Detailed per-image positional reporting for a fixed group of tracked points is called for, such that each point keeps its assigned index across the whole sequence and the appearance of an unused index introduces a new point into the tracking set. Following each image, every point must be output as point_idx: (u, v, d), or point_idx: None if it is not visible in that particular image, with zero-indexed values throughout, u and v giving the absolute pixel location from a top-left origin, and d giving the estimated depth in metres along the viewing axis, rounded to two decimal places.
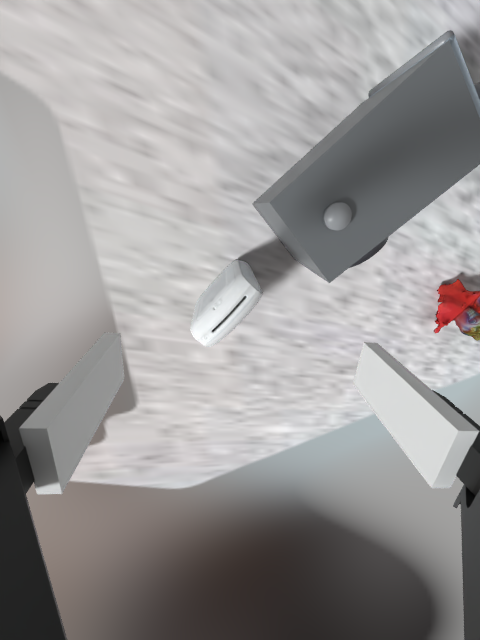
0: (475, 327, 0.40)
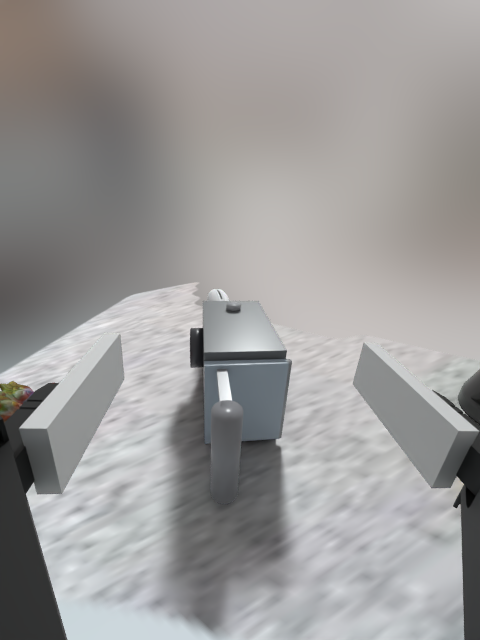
0: (22, 389, 0.36)
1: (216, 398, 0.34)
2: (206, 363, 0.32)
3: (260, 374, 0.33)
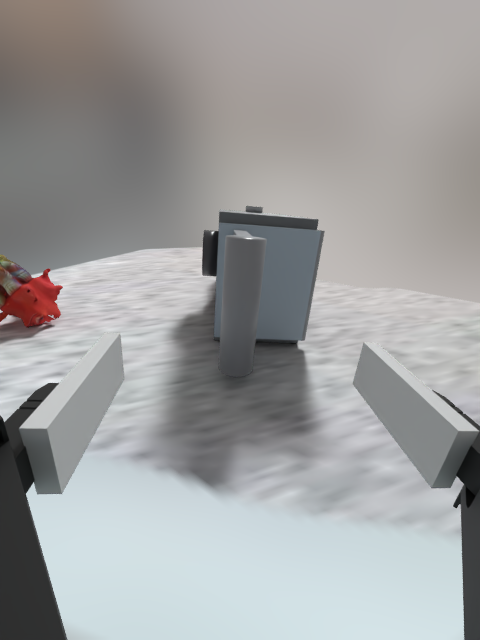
0: (11, 263, 0.32)
1: None
2: None
3: (285, 243, 0.28)
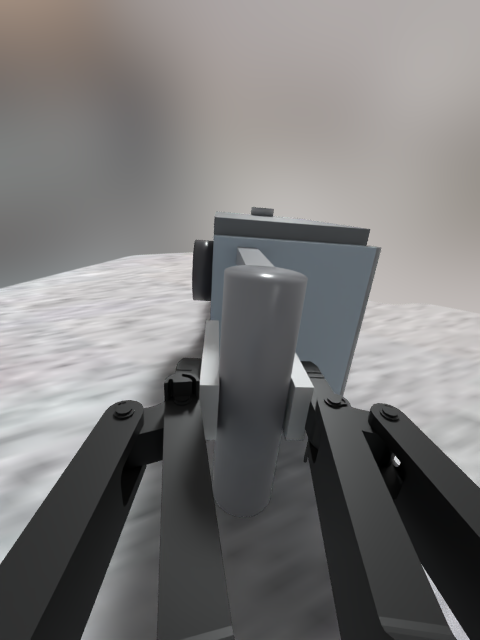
0: None
1: None
2: (217, 235, 0.17)
3: (319, 268, 0.17)
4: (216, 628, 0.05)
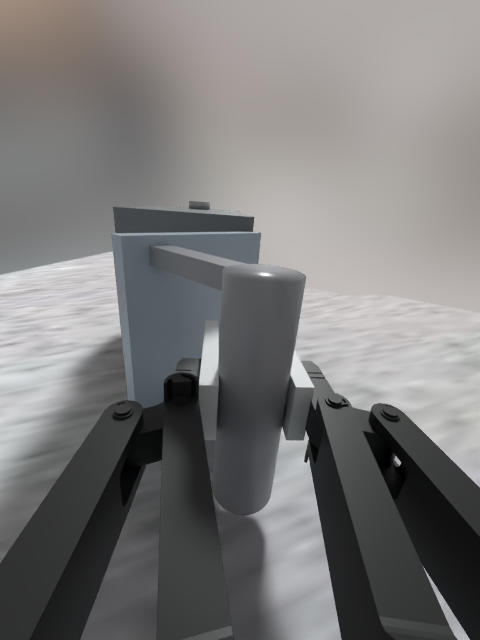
0: None
1: (152, 321, 0.16)
2: (121, 234, 0.13)
3: (223, 257, 0.18)
4: (216, 628, 0.05)
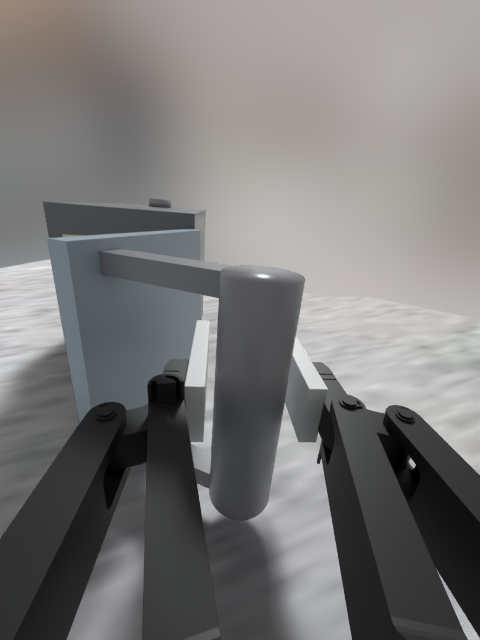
0: None
1: (108, 340, 0.13)
2: (62, 239, 0.11)
3: None
4: (203, 631, 0.05)
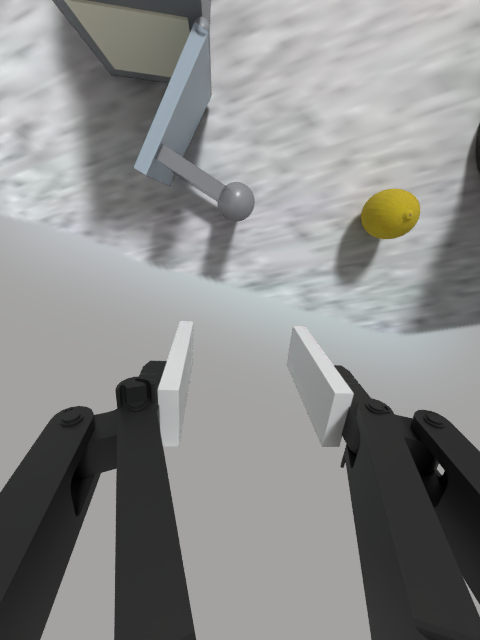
0: None
1: (164, 166, 0.25)
2: (141, 168, 0.21)
3: (187, 92, 0.21)
4: (178, 638, 0.04)
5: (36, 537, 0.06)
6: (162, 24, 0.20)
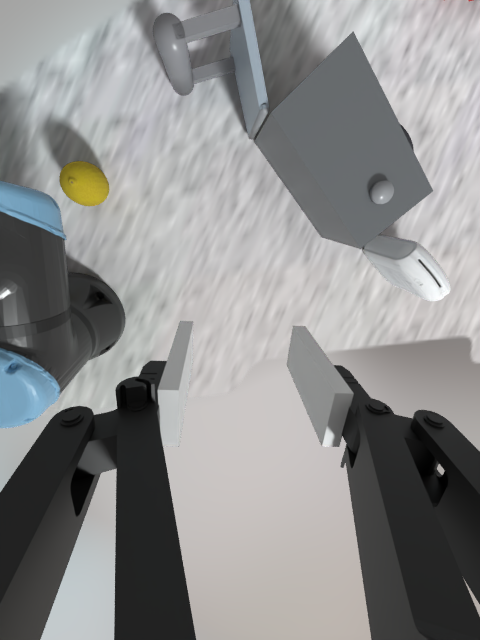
0: None
1: (235, 29, 0.30)
2: None
3: (250, 76, 0.29)
4: (178, 638, 0.04)
5: (36, 537, 0.06)
6: None
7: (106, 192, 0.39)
